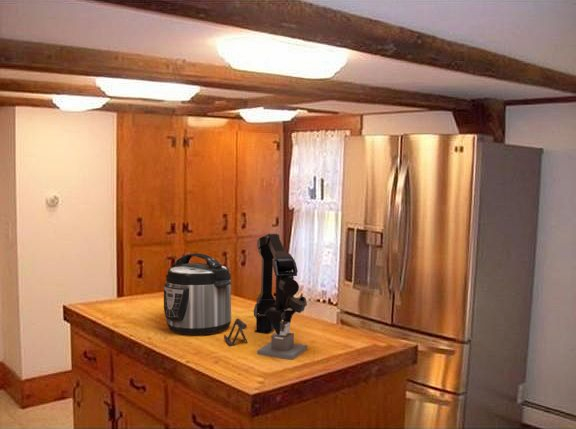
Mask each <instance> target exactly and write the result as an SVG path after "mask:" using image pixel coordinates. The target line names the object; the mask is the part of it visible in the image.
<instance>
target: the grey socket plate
mask: <svg viewBox="0 0 576 429" xmlns="http://www.w3.org/2000/svg"><path fill="white" fill-rule="evenodd" d="M270 337H271V338H270V342H269V343H266V344H265V345H263V346H262V347H260V348H259V349H257V350H256V354H257V355H261V356H266V357H273V358H279V359H286V360H291V361H293V360H294V359H296V358H297V357H298V356H299V355H301V354H302V353H304V352H305V351H306V350H307V349H308V345H307V344H303V343H302V344H300V343H295V341H294V340H295V333H293V332H290V335H288V336H287V337H283V336H276V332H274V333H273V334H272V335H271V336H270Z"/></svg>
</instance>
